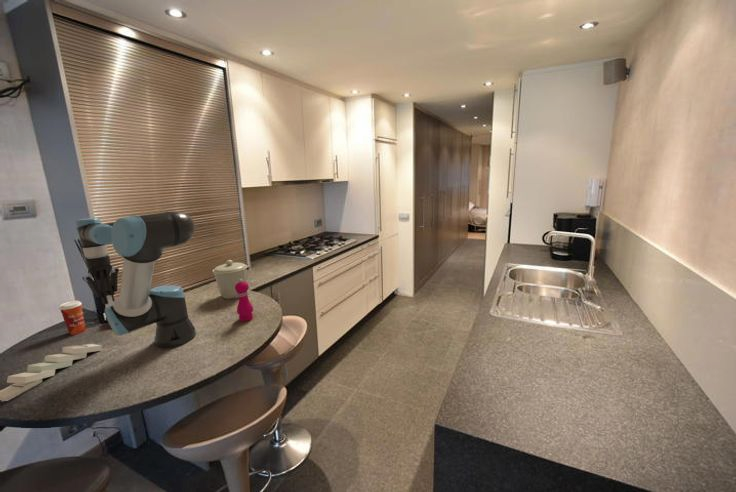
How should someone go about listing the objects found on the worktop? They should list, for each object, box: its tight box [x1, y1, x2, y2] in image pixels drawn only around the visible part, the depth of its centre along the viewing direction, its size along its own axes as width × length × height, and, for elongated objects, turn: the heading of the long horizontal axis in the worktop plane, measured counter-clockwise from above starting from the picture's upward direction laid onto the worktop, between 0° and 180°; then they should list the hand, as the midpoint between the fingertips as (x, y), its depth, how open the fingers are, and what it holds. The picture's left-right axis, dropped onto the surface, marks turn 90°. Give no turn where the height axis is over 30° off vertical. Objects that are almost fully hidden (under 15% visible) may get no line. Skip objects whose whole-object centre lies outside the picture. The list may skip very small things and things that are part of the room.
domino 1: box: [6, 369, 56, 384], centre depth 110 cm, size 6×2×10 cm
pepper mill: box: [235, 279, 254, 322], centre depth 151 cm, size 7×7×20 cm
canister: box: [212, 259, 248, 300], centre depth 181 cm, size 18×18×21 cm
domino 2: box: [0, 379, 44, 402], centre depth 107 cm, size 6×2×10 cm
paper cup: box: [58, 300, 86, 336], centre depth 146 cm, size 8×8×14 cm
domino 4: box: [43, 352, 88, 363], centre depth 122 cm, size 6×2×10 cm
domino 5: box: [61, 343, 103, 354], centre depth 127 cm, size 6×2×10 cm
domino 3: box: [26, 360, 74, 372], centre depth 116 cm, size 6×2×10 cm
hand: (110, 310), depth 136 cm, fingers closed
